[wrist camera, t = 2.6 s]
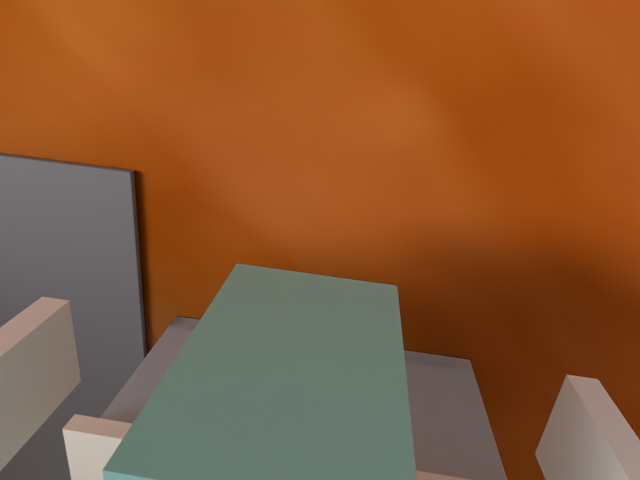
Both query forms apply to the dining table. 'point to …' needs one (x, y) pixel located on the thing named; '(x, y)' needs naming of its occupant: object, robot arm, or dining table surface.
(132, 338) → the mat
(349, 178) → the dining table surface
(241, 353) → the lid
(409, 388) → the tub
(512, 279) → the dining table surface
